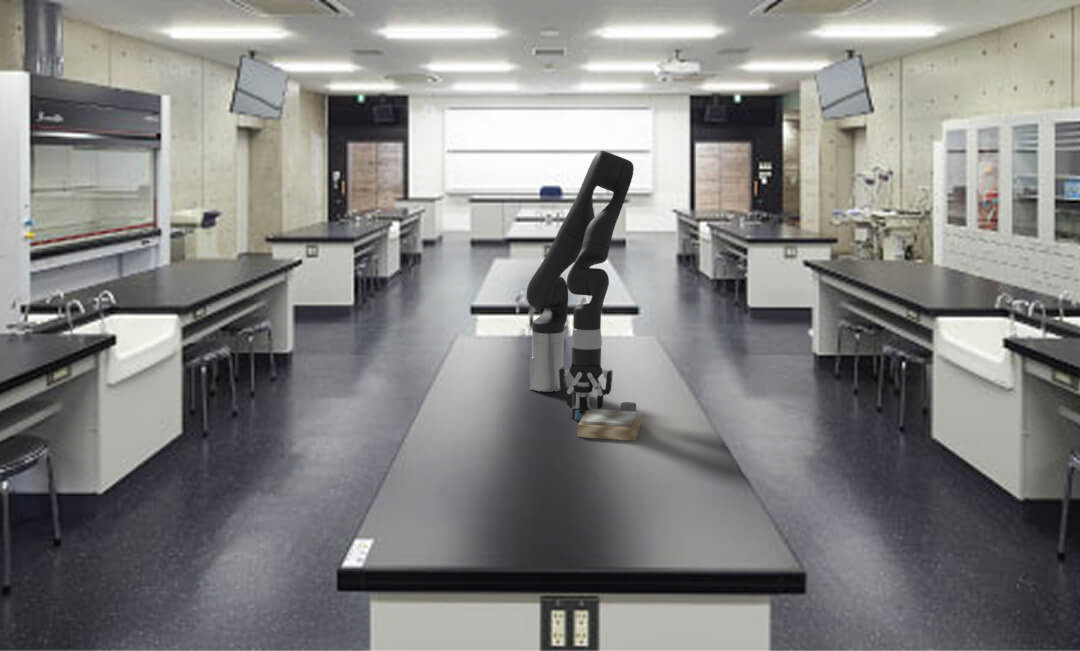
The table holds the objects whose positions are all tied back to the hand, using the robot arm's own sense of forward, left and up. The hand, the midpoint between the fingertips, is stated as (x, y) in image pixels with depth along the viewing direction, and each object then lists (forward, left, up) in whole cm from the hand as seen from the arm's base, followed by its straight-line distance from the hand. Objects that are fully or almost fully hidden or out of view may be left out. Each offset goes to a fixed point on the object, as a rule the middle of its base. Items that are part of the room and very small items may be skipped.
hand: (585, 408), depth 249 cm
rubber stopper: (+11, +3, -3) cm, 12 cm away
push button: (0, 0, -3) cm, 3 cm away
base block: (+8, -10, -3) cm, 13 cm away
